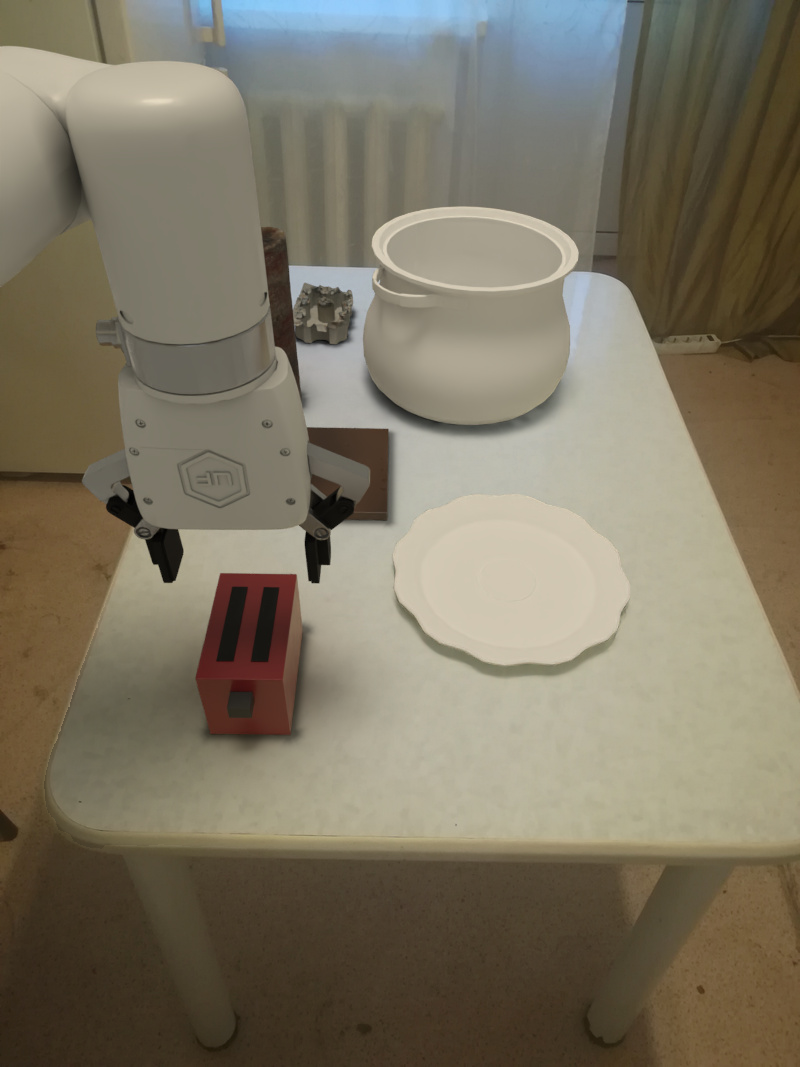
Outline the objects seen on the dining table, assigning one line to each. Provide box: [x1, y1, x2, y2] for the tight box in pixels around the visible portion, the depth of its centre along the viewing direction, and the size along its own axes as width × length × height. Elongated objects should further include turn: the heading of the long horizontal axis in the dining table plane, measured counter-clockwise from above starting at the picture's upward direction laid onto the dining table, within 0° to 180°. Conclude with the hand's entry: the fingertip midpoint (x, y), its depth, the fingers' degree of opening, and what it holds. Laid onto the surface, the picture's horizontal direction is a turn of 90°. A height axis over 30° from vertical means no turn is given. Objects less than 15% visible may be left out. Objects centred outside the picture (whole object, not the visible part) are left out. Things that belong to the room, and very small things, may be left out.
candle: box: [261, 226, 302, 399], centre depth 81 cm, size 8×7×20 cm
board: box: [307, 426, 390, 521], centre depth 78 cm, size 16×14×1 cm
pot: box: [362, 206, 580, 426], centre depth 87 cm, size 26×24×17 cm
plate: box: [391, 493, 631, 667], centre depth 68 cm, size 21×21×2 cm
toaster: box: [194, 572, 304, 736], centre depth 57 cm, size 6×11×7 cm, turn 0°
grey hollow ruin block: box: [293, 282, 354, 345], centre depth 101 cm, size 11×8×4 cm
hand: (245, 568), depth 51 cm, fingers open, 9 cm apart
